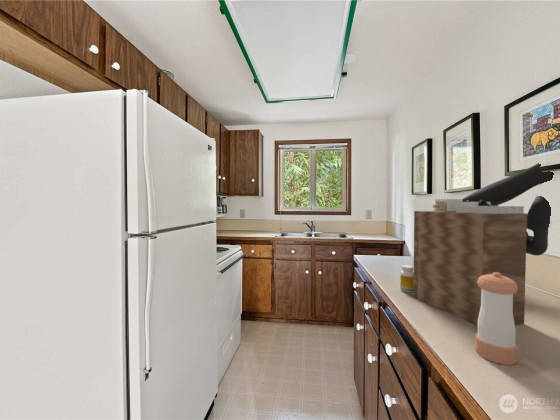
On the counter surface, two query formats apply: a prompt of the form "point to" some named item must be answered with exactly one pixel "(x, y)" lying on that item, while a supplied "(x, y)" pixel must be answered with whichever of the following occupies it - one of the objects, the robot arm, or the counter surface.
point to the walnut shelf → (467, 259)
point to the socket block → (490, 209)
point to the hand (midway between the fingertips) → (473, 202)
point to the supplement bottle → (407, 278)
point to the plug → (452, 204)
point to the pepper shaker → (496, 319)
